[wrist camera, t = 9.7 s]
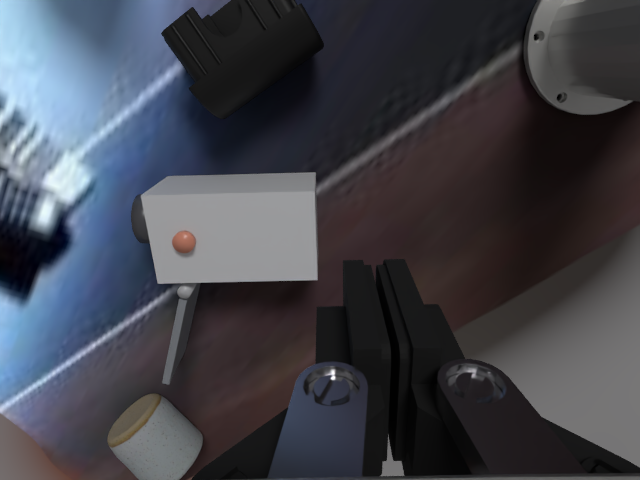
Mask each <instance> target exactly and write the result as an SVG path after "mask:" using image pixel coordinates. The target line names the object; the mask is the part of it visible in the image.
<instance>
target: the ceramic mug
mask: <svg viewBox="0 0 640 480" xmlns="http://www.w3.org/2000/svg"><path fill="white" fill-rule="evenodd" d="M202 443H203V436H202V434H201V432H200V431H199V430H198V429H197V428H196V427H195V426H194V425H193V424H192V423H191V422H190V421H189V420H188V419H187V418H186V417H185V416H183V415H182V414H181V413H180V412H179V411H178V410H177V409H176V408H175V407H174V406H173V405H172V404H171V403H170V402H169V401H168V400H167V399H166V398H164V397H163V396H161V395H159V394H148V395H146V396H144V397H142V398H140V399H139V400H137V401H136V402H135V403H133V404H132V405H131V406H130V407H129V408H128V409H127V410H126V411H125V412H124V413H123V414H122V415H121V416H120V417H119V418H118V419H117V421H116V422H115V423H114V425H113V426H112V428H111V430H110V431H109V435H108V444H109V447H110V448H111V450H112V451H113V452H114V454H115V455H116V457H117V458H118V459H119V460H120V461H121V462H122V463H124V464H125V465H126V466H127V467H128V468H129V469H130V471H131V472H132V473H133V474H134V475H135V476H136V477H137V478H138V479H139V480H179V479H181V478H182V477H183V475H184V474H185V473H186V472H187V471H188V469H189V468H190V467H191V466H192V464H193V463H194V461H195V460H196V458H197V456H198V454H199V452H200V450H201V447H202Z"/></svg>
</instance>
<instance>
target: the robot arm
mask: <svg viewBox="0 0 640 480" xmlns="http://www.w3.org/2000/svg"><path fill="white" fill-rule="evenodd" d="M534 34H536V35H537V38H536V40H534ZM524 62H525V67H526V72H527V75H528V77H529V80H530V82H531V84H532V86H533V87H534V89H535V90H536V92H537V93H538V95H539V96H540V97H542V98H543V99H544V100H545V101H546V102H547V103H548V104H550V105H552V106H553V107H555V108H557V109H559V110H562V111H565V112H569V113H573V114H580V115H597V114H602V113H607V112H611V111H614V110H616V109H619V108H621V107H624V106H626V105H628V104H629V103H631V102H633V101H640V0H537V2H536V4H535V6H534V8H533V10H532V12H531V15H530V18H529V21H528V24H527V27H526V33H525V38H524ZM558 94H559V98H558V99H557V96H558ZM388 435H389V440H390V446H391V452H392V457H393V460H394V461H402V465H403V470H404V475H405V476H380V475H381V474H382V461H386V460H387V443H388ZM192 480H640V468H639V467H637V466H636V465H634V464H632V463H631V462H629V461H627V460H625V459H623V458H621V457H619V456H617V455H615V454H614V453H612V452H609V451H607V450H605V449H604V448H602V447H600V446H598V445H596V444H594V443H592V442H590V441H588V440H586V439H584V438H582V437H580V436H578V435H576V434H574V433H572V432H570V431H568V430H566V429H564V428H562V427H560V426H558V425H556V424H554V423H552V422H550V421H548V420H546V419H544V418H542V417H541V416H540V415H539V414H538V412H537V411H536V410H535V409H534V408H533V406H532V405H531V404H530V403H529V401H528V400H527V399H526V398H525V397H524V395H523V394H522V393H521V392H520V391H519V389H518V388H517V387H516V386H515V385H514V383H513V382H512V381H511V380H510V378H509V377H508V376H506V375H505V374H504V373H503V372H502V371H501V370H499V369H498V368H496V367H494V366H492V365H490V364H487V363H485V362H482V361H478V360H472V359H465V357H464V355H463V353H462V351H461V349H460V347H459V345H458V343H457V341H456V339H455V337H454V335H453V333H452V331H451V329H450V327H449V325H448V323H447V321H446V319H445V316H444V314H443V312H442V310H441V308H440V307H439V305H437V304H426V305H424V304H423V301H422V299H421V297H420V294H419V292H418V290H417V287H416V285H415V283H414V280H413V278H412V276H411V273H410V271H409V269H408V266H407V264H406V262H405V260H404V259H391V260H384V262H383V265H377V266H376V284H375V280H374V276H373V272H372V268H371V265H364V262H363V260H348V261H343V306H333V307H317V325H316V364H315V365H313V366H311V367H309V368H307V369H306V370H305V371H303V372H302V373H301V374H300V376H299V377H298V379H297V381H296V384H295V387H294V391H293V394H292V397H291V401H290V404H289V407H288V408H286V409H285V410H284V411H282V412H281V413H279V414H278V415H277V416H275V417H274V418H272V419H271V420H270V421H268V422H267V423H265V424H264V425H263V426H261V427H260V428H258V429H257V430H256V431H254V432H253V433H251V434H250V435H249V436H247V437H246V438H244V439H243V440H242V441H240V442H239V443H237V444H236V445H235V446H233V447H232V448H230V449H229V450H228V451H226V452H225V453H223V454H222V455H221V456H219V457H218V458H216V459H215V460H214V461H212V462H211V463H209V464H208V465H207V466H205V467H204V468H203V469H202V470H200V471H199V472H198V473H197V474H196V475H195V476H194V477H193V478H192Z"/></svg>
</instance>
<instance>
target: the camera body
mask: <svg viewBox="0 0 640 480" xmlns="http://www.w3.org/2000/svg"><path fill="white" fill-rule="evenodd" d="M131 222H132V228H133V232H134V235H135V237H136V239H137V240H138V241H139V242H140V243H150V246H151V251H152V256H153V261H154V266H155V271H156V277H157V282H158V284H164V283H209V282H255V281H300V280H318V232H317V199H316V172H314V173H274V174H235V175H195V176H167V177H166V178H165V179H163V180H162V181H160V182H159V183H158V184H156V185H155V186H153V187H152V188H151V189H149V190H148V191H146V192H145V193H144V194H139V195H137V196H136V198H135V199H134V202H133V205H132V211H131Z"/></svg>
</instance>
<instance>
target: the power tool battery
mask: <svg viewBox="0 0 640 480" xmlns="http://www.w3.org/2000/svg"><path fill="white" fill-rule="evenodd" d="M161 34H162V36H163V37H164V40H165V41H166V43H167V44H168V46H169V47H170V48H171V50H172V51H173V53H174V54H175V55H176V57H177V58H178V59H179V61H180V62H181V64H182V65H183V66H184V68H185V69H186V71H187V72H188V73H189V75H190V76H191V78H192V79H193V80H194V82H195V84H193V85H192V86H191V87H190V88H189V89H190V91H191V92H192V93H193V95H194V96H195V97H196V98H197V99H198V101H199V102H200V103H201V104H202V105H203V106H204V107H205V108H206V109H207V110H208V111H209V112H210V113H212V114H213V115H214V116H216V117H218V118H220V119H225V118H227V117H228V116H230V115H231V114H233V113H234V112H235V111H237V110H238V109H239V108H241V107H242V106H244V105H245V104H246V103H248V102H249V101H251V100H252V99H253V98H255V97H256V96H257V95H259V94H260V93H262V92H263V91H264V90H266V89H267V88H269V87H270V86H271V85H273V84H274V83H276V82H277V81H278V80H280V79H281V78H282V77H284V76H285V75H287V74H288V73H289V72H291V71H292V70H294V69H295V68H296V67H298V66H299V65H300V64H302V63H303V62H305V61H306V60H307V59H309V58H310V57H312V56H313V55H314V54H316V53H317V52H318V51H320V50H321V49H322V48H323V47H324V43H323V41H322V39H321V37H320V35H319V33H318V31H317V30H316V28H315V26H314V24H313V22H312V21H311V19H310V17H309V16H308V14H307V12H306V10H305V9H304V7H303V5H302V4H299V5H297V3H296V2H295V0H231V1H230V2H228V3H227V4H226V5H225V6H223V7H222V8H221V9H220V10H218V11H217V12H216V13H215V14H213V15H212V16H211V17H210V15H207V16H205V17H204V18H203V19H201V18H200V16H199V15H198V13H197V12H196V10H195V9H194V8H193V7H192V8H190V9H189V10H188V11H187V12H185V13H184V14H183V15H182V16H180V17H179V18H178V19H177V20H176V21H174V22H173V23H172V24H171V25H169V26H168V27H167V28H166V29H165V30H163V32H162V33H161Z"/></svg>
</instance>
